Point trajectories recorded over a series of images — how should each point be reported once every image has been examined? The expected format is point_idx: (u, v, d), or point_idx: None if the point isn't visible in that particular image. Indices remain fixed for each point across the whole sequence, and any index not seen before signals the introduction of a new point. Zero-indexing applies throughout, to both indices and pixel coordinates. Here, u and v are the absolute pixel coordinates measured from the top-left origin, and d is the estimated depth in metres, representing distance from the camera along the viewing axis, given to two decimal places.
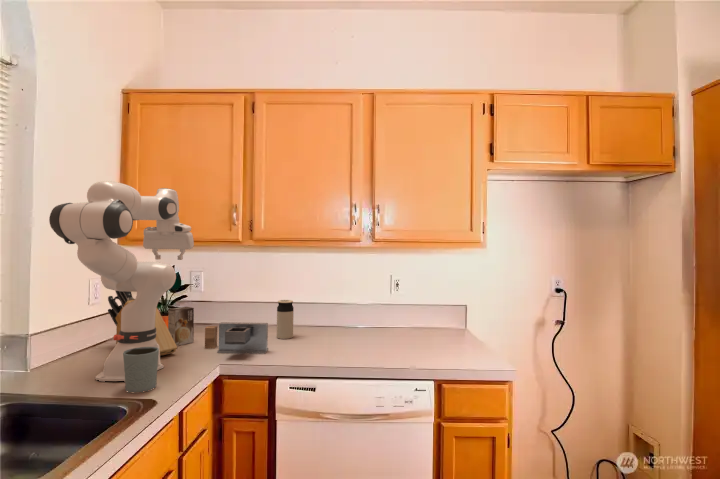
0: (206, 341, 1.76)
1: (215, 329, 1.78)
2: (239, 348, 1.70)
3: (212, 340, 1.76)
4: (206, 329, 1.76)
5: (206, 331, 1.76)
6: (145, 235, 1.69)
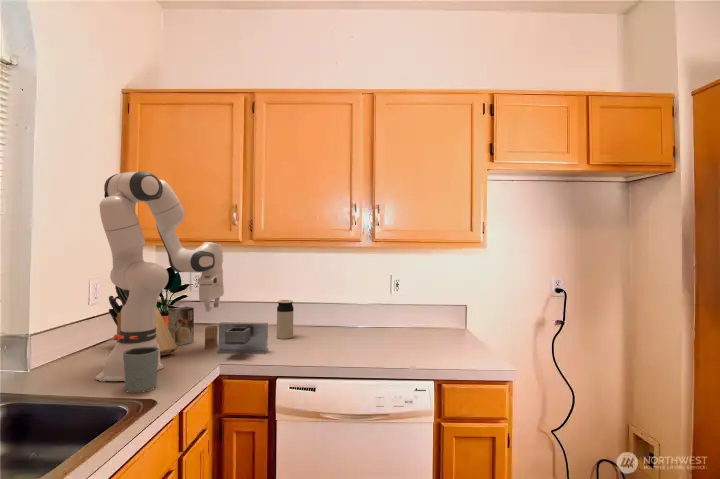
0: (206, 341, 1.76)
1: (215, 329, 1.78)
2: (239, 348, 1.70)
3: (212, 340, 1.76)
4: (206, 329, 1.76)
5: (206, 331, 1.76)
6: None
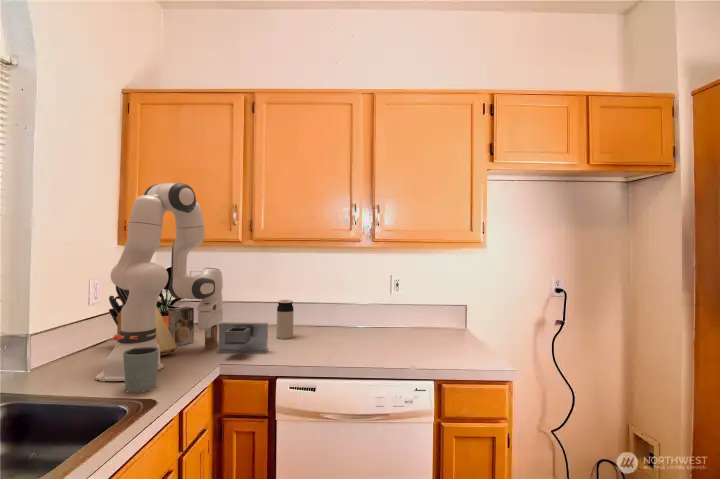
0: (206, 341, 1.76)
1: (215, 329, 1.78)
2: (239, 348, 1.70)
3: (212, 340, 1.76)
4: None
5: None
6: None
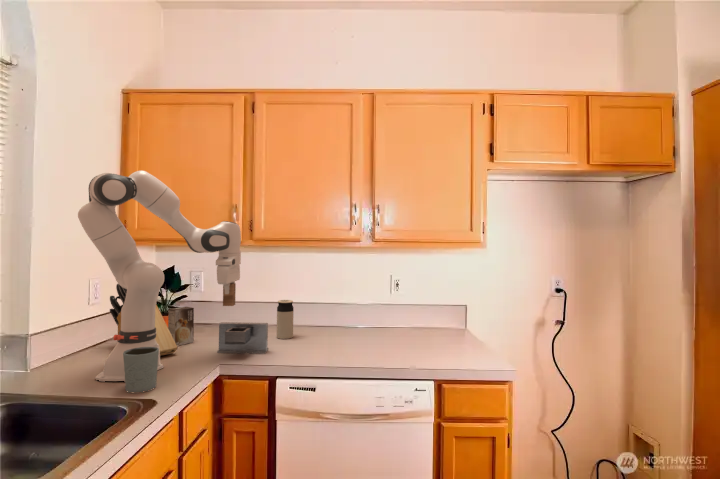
0: (224, 298, 1.67)
1: (233, 286, 1.69)
2: (239, 348, 1.70)
3: (231, 297, 1.67)
4: None
5: None
6: None
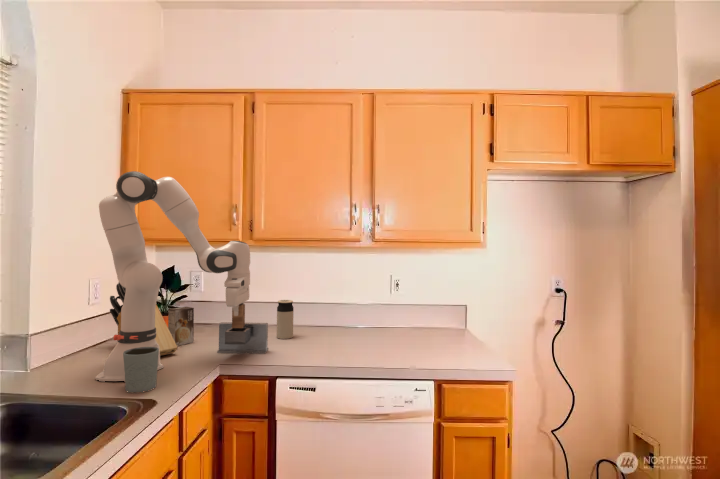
0: (233, 320, 1.62)
1: (243, 307, 1.64)
2: (239, 348, 1.70)
3: (240, 319, 1.62)
4: None
5: None
6: None
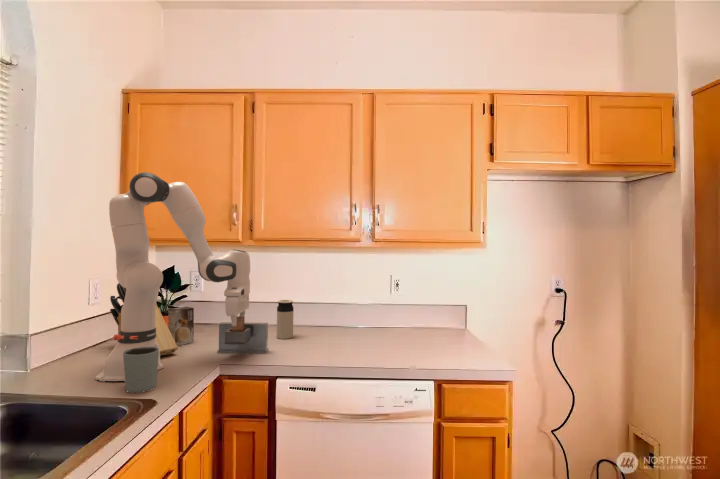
0: None
1: (242, 320, 1.64)
2: (239, 348, 1.70)
3: None
4: None
5: None
6: None
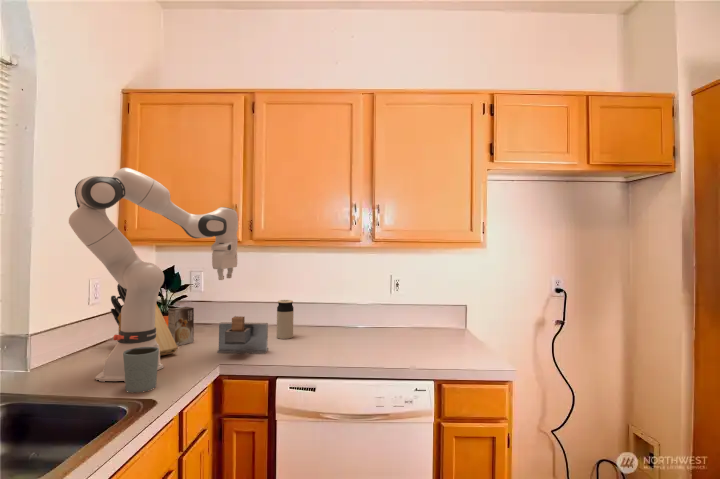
0: None
1: (242, 320, 1.64)
2: (239, 348, 1.70)
3: None
4: (233, 320, 1.62)
5: (233, 322, 1.62)
6: None
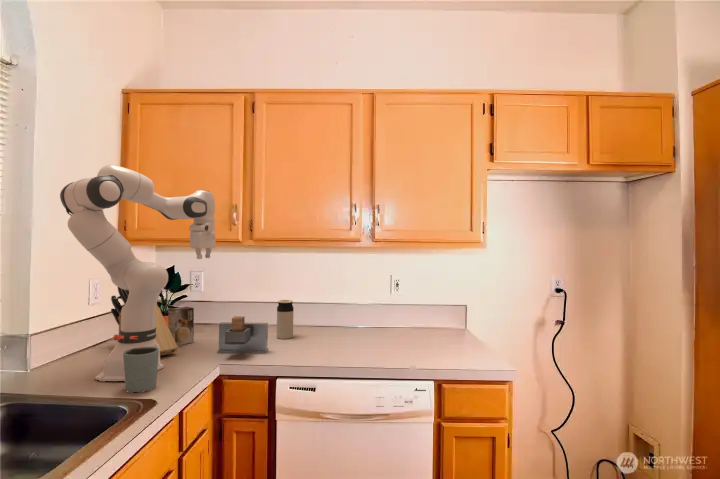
0: None
1: (242, 320, 1.64)
2: (239, 348, 1.70)
3: None
4: (233, 320, 1.62)
5: (233, 322, 1.62)
6: None
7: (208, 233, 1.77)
